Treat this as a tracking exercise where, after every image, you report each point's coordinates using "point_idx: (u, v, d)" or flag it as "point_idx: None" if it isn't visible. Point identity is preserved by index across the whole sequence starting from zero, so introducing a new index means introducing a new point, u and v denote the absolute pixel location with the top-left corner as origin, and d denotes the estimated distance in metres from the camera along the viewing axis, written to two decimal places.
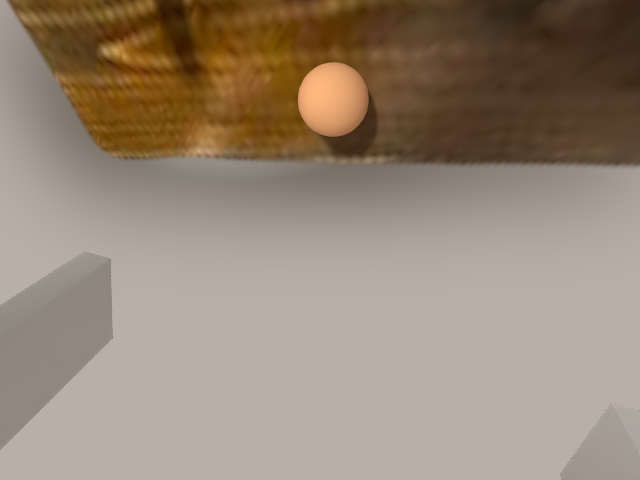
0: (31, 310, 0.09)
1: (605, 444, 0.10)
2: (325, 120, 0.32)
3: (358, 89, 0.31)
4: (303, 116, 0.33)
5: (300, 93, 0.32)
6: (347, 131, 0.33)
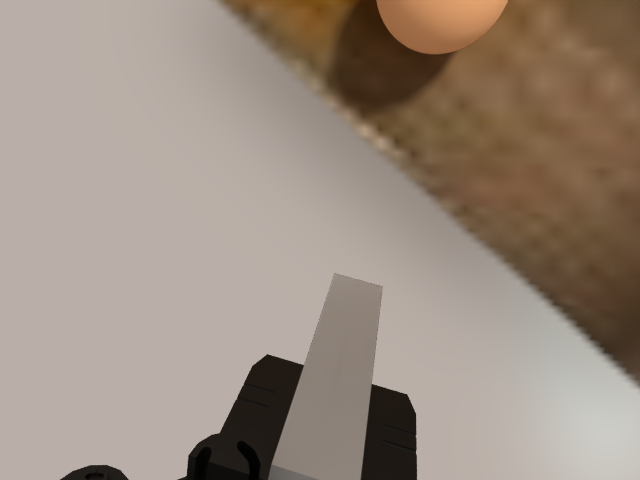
0: (342, 328, 0.11)
1: None
2: None
3: None
4: None
5: None
6: (433, 40, 0.17)
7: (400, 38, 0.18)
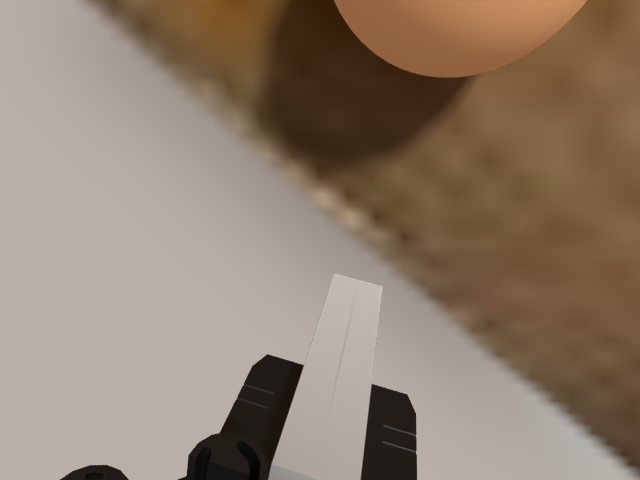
0: (342, 328, 0.11)
1: None
2: None
3: None
4: None
5: None
6: (444, 52, 0.08)
7: (373, 46, 0.09)
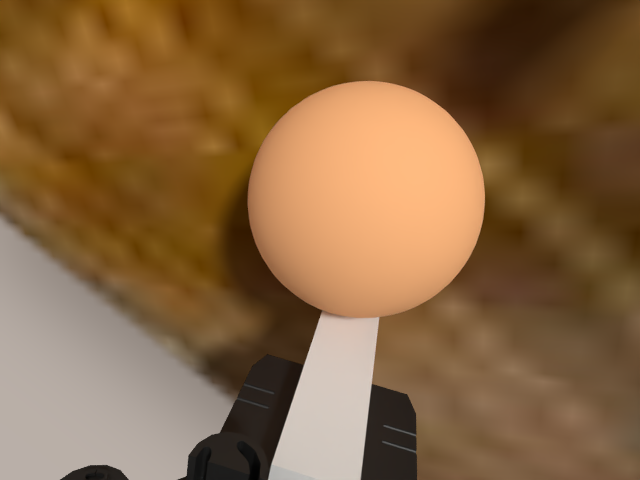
0: (342, 328, 0.11)
1: None
2: (379, 106, 0.08)
3: (483, 204, 0.09)
4: (298, 103, 0.09)
5: None
6: (368, 225, 0.08)
7: (292, 239, 0.08)
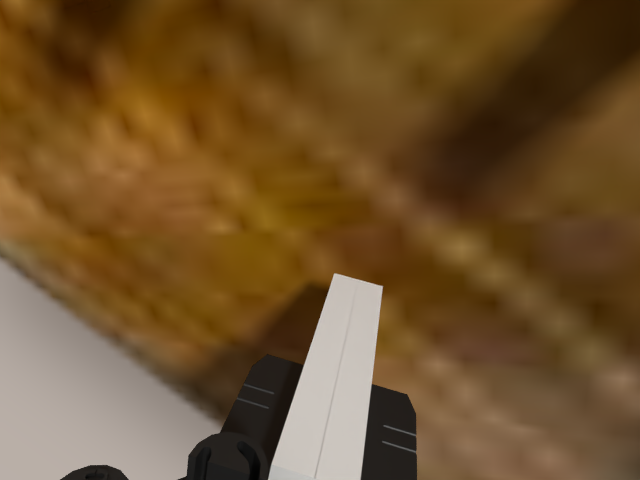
0: (342, 328, 0.11)
1: None
2: None
3: None
4: None
5: None
6: None
7: None
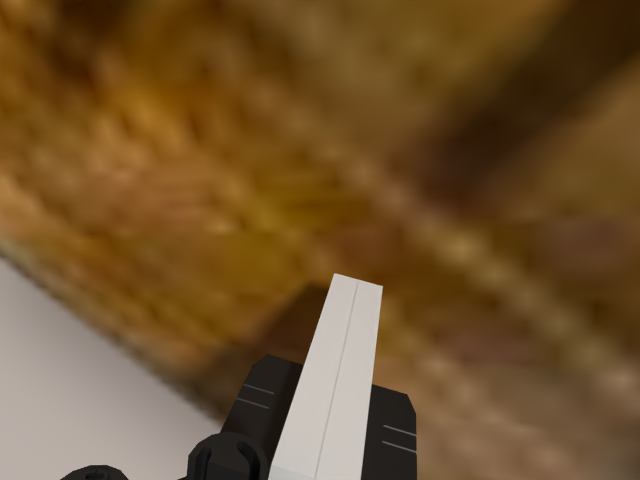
0: (342, 328, 0.11)
1: None
2: None
3: None
4: None
5: None
6: None
7: None
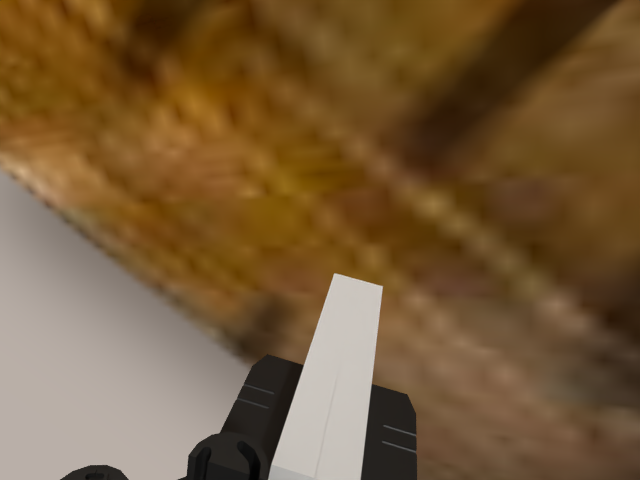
0: (342, 328, 0.11)
1: None
2: None
3: None
4: None
5: None
6: None
7: None
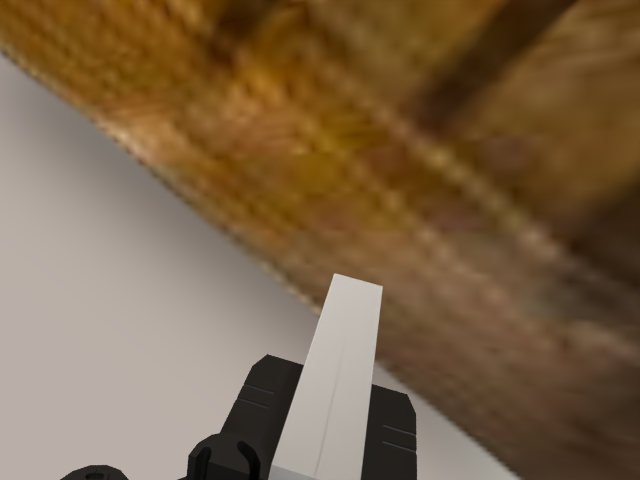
0: (342, 328, 0.11)
1: None
2: None
3: None
4: None
5: None
6: None
7: None
